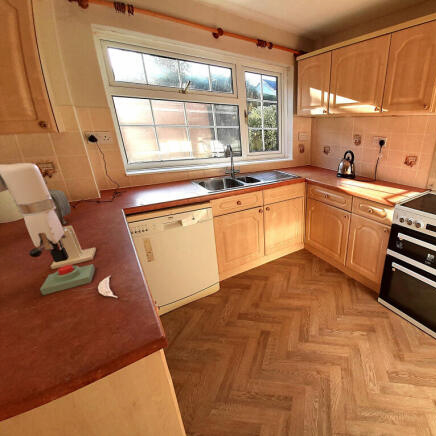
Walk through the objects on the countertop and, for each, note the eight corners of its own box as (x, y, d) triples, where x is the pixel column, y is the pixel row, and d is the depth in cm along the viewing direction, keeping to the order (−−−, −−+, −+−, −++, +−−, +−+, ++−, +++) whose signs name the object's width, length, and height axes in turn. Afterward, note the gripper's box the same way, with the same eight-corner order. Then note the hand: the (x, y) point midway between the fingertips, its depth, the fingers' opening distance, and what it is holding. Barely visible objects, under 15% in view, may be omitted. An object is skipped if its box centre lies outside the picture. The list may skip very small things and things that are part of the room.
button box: (42, 295, 75) (37, 284, 73) (51, 280, 82) (46, 270, 81) (90, 282, 80) (86, 272, 79) (95, 269, 88) (91, 259, 86)
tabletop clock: (35, 228, 125) (12, 180, 115) (47, 221, 133) (27, 176, 124) (67, 225, 127) (47, 178, 118) (77, 219, 136) (60, 174, 126)
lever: (34, 260, 88) (25, 254, 86) (37, 256, 90) (28, 250, 88) (71, 235, 91) (62, 229, 89) (73, 232, 93) (65, 226, 92)
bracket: (51, 269, 89) (36, 237, 84) (58, 258, 96) (45, 228, 91) (92, 259, 94) (80, 229, 89) (96, 249, 101) (85, 221, 96)
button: (58, 276, 78) (56, 272, 77) (61, 271, 81) (59, 266, 80) (72, 273, 79) (70, 268, 79) (75, 267, 82) (73, 263, 82)
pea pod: (97, 281, 81) (96, 277, 80) (113, 276, 83) (112, 272, 83) (100, 305, 70) (98, 301, 69) (118, 298, 72) (116, 294, 72)
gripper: (29, 202, 76) (54, 253, 83) (7, 217, 64) (38, 275, 71) (60, 197, 79) (81, 247, 86) (45, 211, 67) (71, 267, 74)
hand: (62, 259), depth 78 cm, fingers closed
